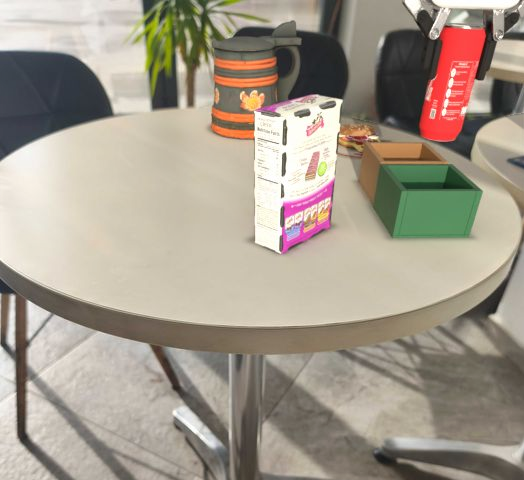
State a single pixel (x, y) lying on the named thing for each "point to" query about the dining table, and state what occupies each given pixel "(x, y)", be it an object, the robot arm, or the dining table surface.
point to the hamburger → (357, 136)
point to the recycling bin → (426, 201)
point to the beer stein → (250, 78)
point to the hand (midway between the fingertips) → (452, 76)
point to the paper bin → (392, 160)
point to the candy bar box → (294, 169)
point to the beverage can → (452, 81)
